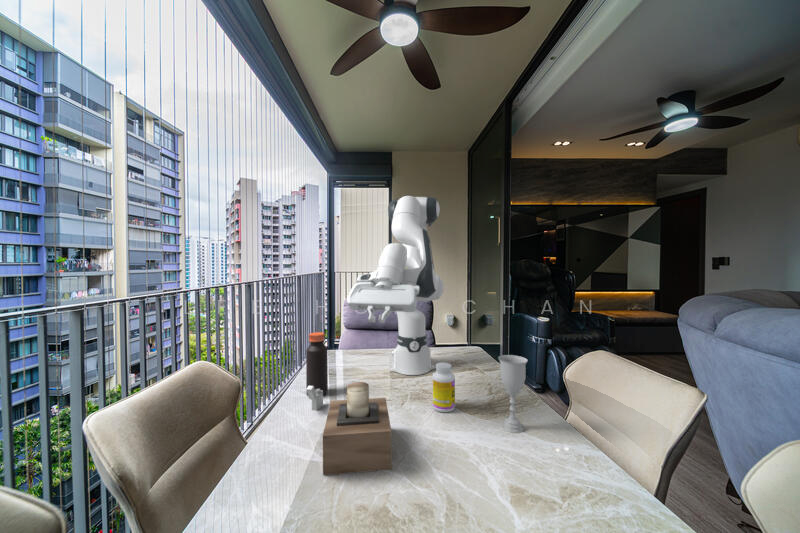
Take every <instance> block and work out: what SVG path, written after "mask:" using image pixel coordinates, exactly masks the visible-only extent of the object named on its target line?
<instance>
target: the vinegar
mask: <svg viewBox="0 0 800 533" xmlns="http://www.w3.org/2000/svg"><path fill="white" fill-rule="evenodd" d="M308 340H309V346H307V348H306V351H305V354H306V355H305V356H306V357H305V358H306V359H305V361H306V364H305V365H306V366H305V367H306V368H305V371H306V372H305V374H306V377H305V378H306V382H305V384H306V385H305V386H306V389H307V387H308V386H314V389H315V390H316V389H320V390H323V397H325V396H326V395H327V394H328V391H329V389H328V388H329V387H328V385H329V384H328V382H329V381H328V380H329V379H328V378H329V376H328V374H329V372H328V366H329V365H328V359H329V358H328V347H327V346H326V345H325V344H324V343H325V340H326V339H325V332H323V331H322V332H321V331H317V332H311V333H309V334H308ZM306 389H305V390H306ZM306 396H307V397H308V393H307V392H306Z"/></svg>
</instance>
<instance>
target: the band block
mask: <svg viewBox="0 0 800 533" xmlns="http://www.w3.org/2000/svg"><path fill="white" fill-rule="evenodd" d="M322 433H323V434H322V475H323V476H327V475H328V476H329V475H338V474H351V473H363V472H373V471H374V472H375V471H385V470H386V471H387V470H392V428H391V422H390V414H389V411H388V402H387V398H386V397H379V398H378V397H377V398H376V397H375V398H374V397H373V398H372V397H371V398H369V417H360V418H347V399H339V400H337V399H336V400H331V401H330V404H329V407H328V411H327V416H326V421H325V425H324V428H323V432H322Z"/></svg>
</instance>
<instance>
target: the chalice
mask: <svg viewBox="0 0 800 533" xmlns="http://www.w3.org/2000/svg"><path fill="white" fill-rule="evenodd" d="M497 358H498V361H499V376H500V380H501V383H502V385H503V387H504V390H505V392H506V394H509V395H510V400H509V405H510V406H509V408H508V410H509V411H510V415H509V416H507V417H506V418H505V419H504V422H503V424H502V428H503V430H505V431H506V432H509V433H513V434H520V433H522V432H523V431H524V428H523V424H522V423H521V420H520V419H519V418H518V417H517V416H516V413H515V412H516V411H517V408H516V403H517V401H516V397H515V396H518V395H519V393H520V392H521V391H522V388H523V387H524V384H525V381H526V378H527V377H526V374H527V373H526V370H527V368H526V364H527V363H528V359H527V358H526V357H523V356H519V355H514V354H503V355H499V356H498V357H497Z"/></svg>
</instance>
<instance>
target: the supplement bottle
mask: <svg viewBox="0 0 800 533" xmlns="http://www.w3.org/2000/svg"><path fill="white" fill-rule="evenodd" d="M452 367H453V366H452V364H450V363H449V362H438V363H436V364H435V370H436V371H435V372H434V373H433V374H432V408H433V409H434V410H435V411H437V412H440V413H451V412H453V411H454V410H455V408H456V376H455V375H454V373H453V372H452Z"/></svg>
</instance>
